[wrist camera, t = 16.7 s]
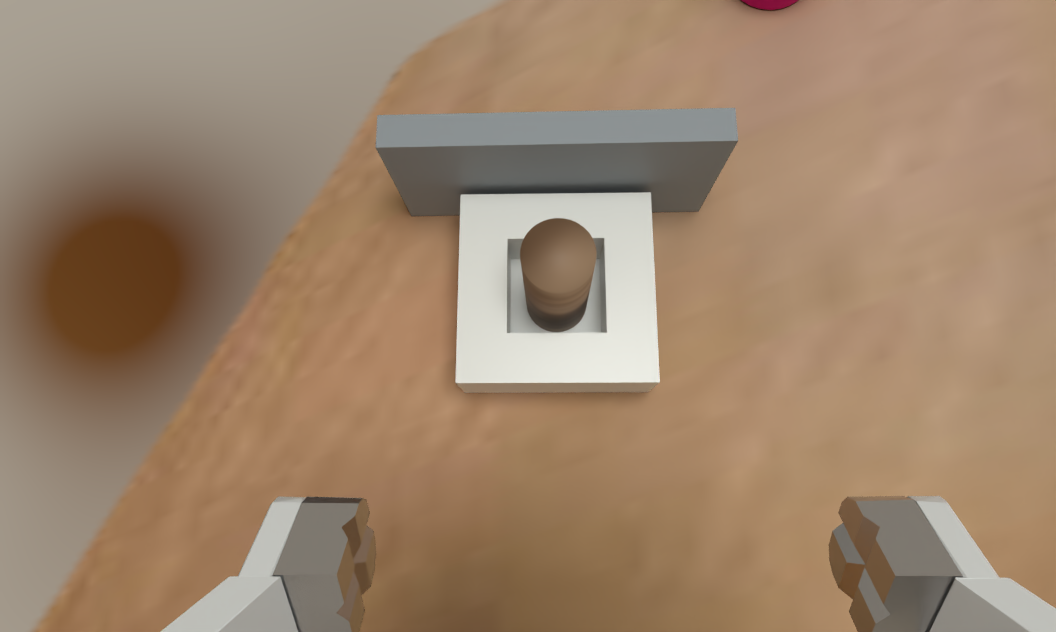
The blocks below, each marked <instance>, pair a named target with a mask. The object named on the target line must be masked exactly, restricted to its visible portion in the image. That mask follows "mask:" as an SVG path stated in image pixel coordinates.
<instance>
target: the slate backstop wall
mask: <svg viewBox="0 0 1056 632" xmlns="http://www.w3.org/2000/svg"><path fill="white" fill-rule="evenodd" d="M737 142H738V134H737V123H736V111H735V108H707V109H658V110H609V111H560V112H511V113H462V114H413V115H378V116H377V135H376V149H377V151H378V153H379V155H380V157H381V158H382V160H383V162H384V164H385V166H386V168H387V170H388V172H389V174H390V176H391V178H392V180H393V181H394V183H395V185H396V187H397V189H398V191H399V193H400V195H401V197H402V199H403V201H404V202H405V204H406V206H407V208H408V210H409V212H410V214H411V216H448V215H460V197H461V195H462V194H552V193H642V192H651V206H652V212H696V211H699V209H700V208H701V206H702V204H703V202H704V201H705V199H706V197H707V195H708V193H709V192H710V190H711V188H712V186H713V184H714V183H715V181H716V179H717V177H718V176H719V174H720V172H721V170H722V168H723V167H724V165H725V163H726V161H727V159H728V158H729V156H730V154H731V152H732V151H733V149H734V147H735V145H736V143H737Z"/></svg>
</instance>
